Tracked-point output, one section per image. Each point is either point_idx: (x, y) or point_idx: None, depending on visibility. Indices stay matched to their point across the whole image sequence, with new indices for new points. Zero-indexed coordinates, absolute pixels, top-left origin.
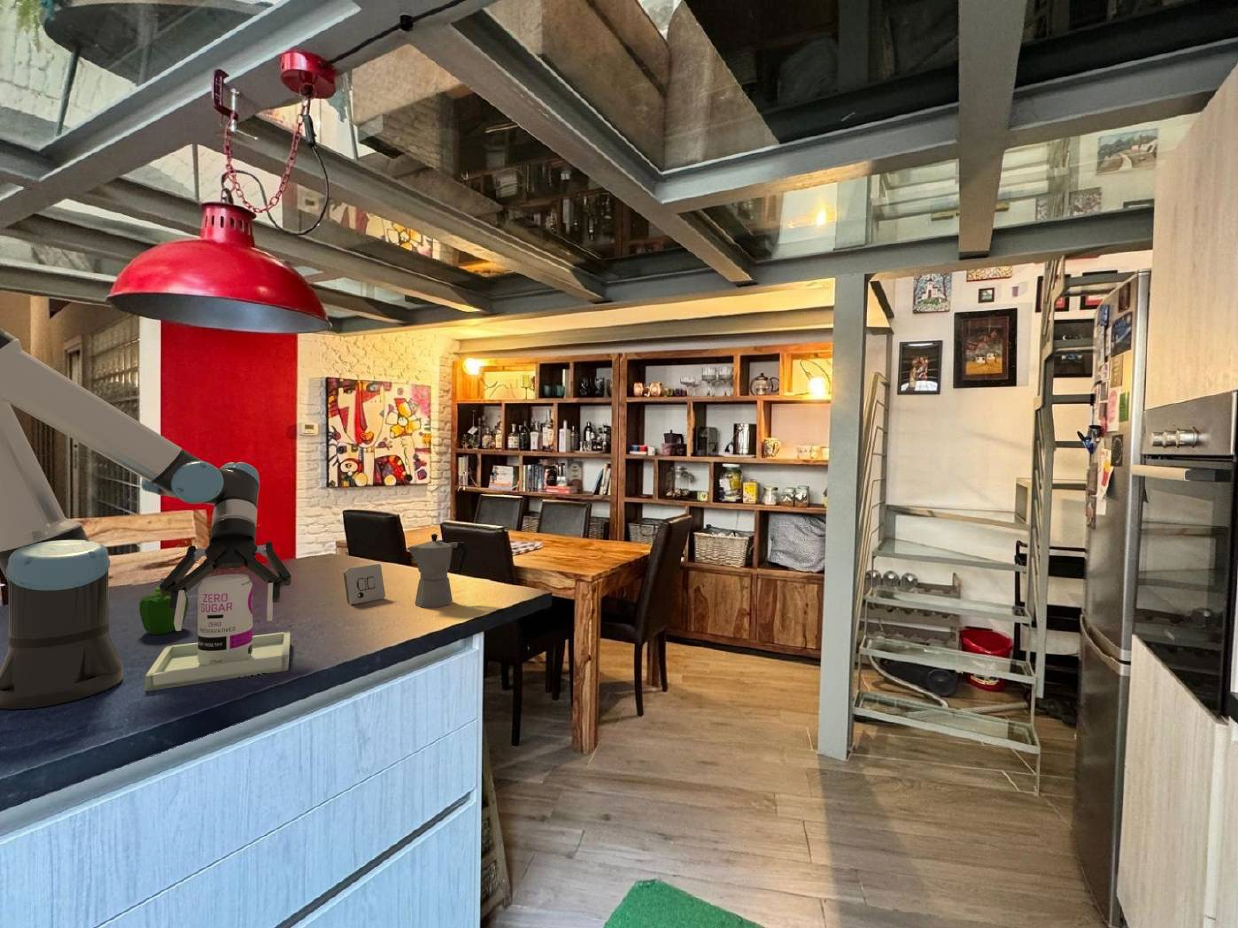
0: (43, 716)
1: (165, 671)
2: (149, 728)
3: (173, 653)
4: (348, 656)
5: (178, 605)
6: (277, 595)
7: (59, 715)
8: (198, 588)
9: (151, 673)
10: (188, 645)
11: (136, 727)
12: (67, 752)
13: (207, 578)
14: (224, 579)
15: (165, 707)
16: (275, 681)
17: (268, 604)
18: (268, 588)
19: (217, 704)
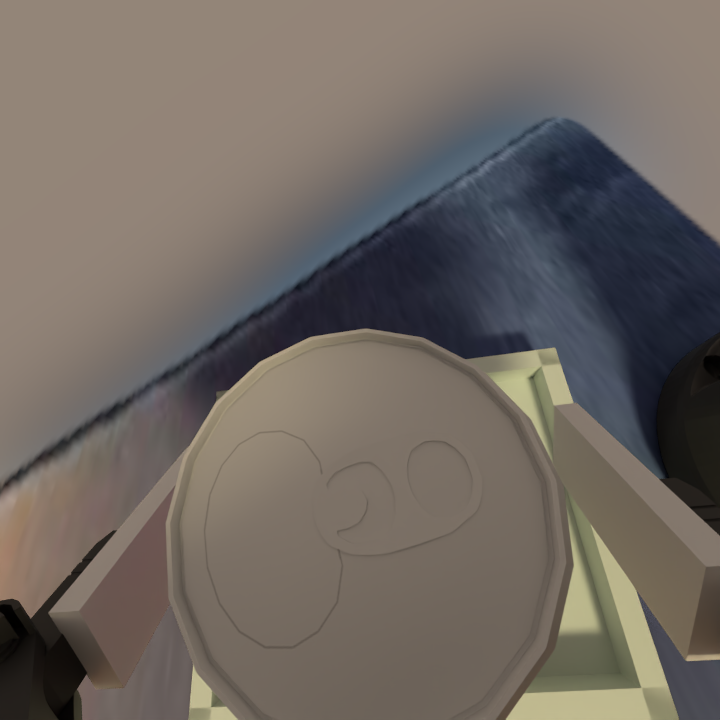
0: (697, 283)
1: (514, 368)
2: (442, 193)
3: (619, 678)
4: (90, 462)
5: (629, 464)
6: (103, 546)
7: (661, 280)
8: (550, 463)
9: (547, 364)
10: (574, 689)
11: (466, 200)
12: (529, 148)
13: (548, 603)
14: (360, 486)
15: (451, 265)
16: (262, 339)
17: (177, 475)
18: (112, 566)
19: (357, 255)
